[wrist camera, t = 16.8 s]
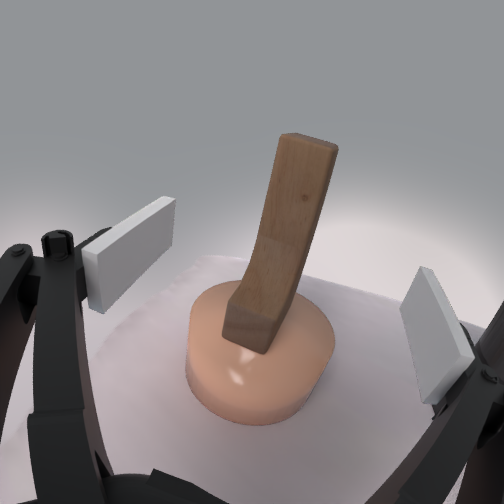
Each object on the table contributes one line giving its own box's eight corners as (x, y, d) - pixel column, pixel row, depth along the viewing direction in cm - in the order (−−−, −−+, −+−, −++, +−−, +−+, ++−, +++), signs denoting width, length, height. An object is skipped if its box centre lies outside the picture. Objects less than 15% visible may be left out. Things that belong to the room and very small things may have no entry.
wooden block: (264, 357, 26) (326, 152, 18) (219, 338, 28) (260, 133, 19) (291, 305, 34) (340, 145, 26) (254, 291, 35) (293, 131, 27)
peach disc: (314, 346, 40) (334, 300, 37) (304, 439, 27) (333, 397, 23) (209, 316, 42) (216, 267, 38) (165, 398, 29) (164, 348, 25)
